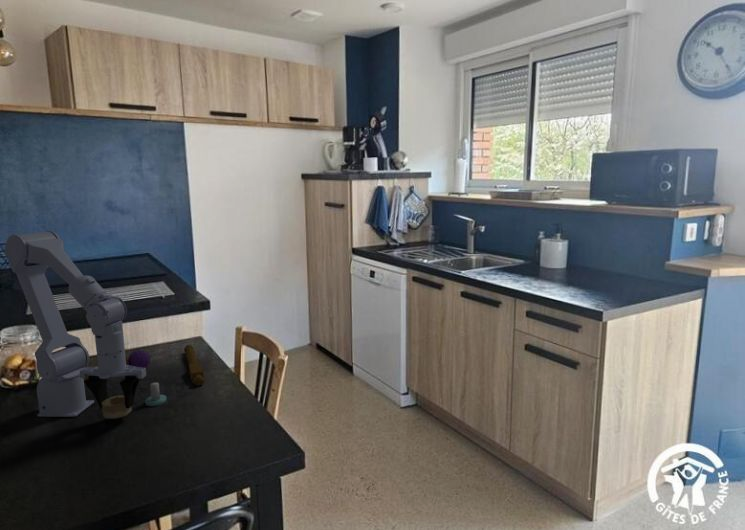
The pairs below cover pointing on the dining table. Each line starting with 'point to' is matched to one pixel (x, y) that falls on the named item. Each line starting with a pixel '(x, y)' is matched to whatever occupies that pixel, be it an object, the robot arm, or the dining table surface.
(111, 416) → the ring
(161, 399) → the toy mushroom
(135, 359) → the kendama
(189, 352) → the wooden baluster
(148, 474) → the dining table surface
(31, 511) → the dining table surface
